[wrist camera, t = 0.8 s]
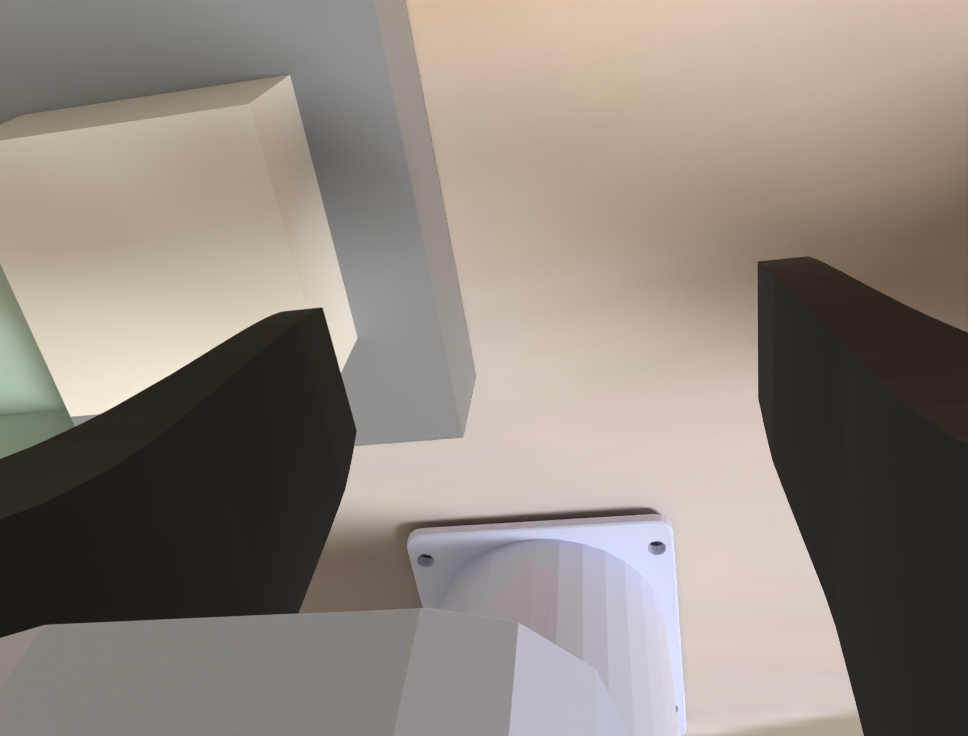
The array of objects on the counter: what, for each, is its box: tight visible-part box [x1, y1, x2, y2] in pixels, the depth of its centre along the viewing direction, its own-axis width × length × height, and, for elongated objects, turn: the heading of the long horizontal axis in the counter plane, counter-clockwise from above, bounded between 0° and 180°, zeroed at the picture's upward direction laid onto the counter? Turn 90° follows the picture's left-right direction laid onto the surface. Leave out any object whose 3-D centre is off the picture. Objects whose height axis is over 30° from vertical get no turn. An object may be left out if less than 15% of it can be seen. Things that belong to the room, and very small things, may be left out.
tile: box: [0, 75, 357, 417], centre depth 18 cm, size 6×6×2 cm
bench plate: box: [0, 0, 476, 446], centre depth 21 cm, size 12×10×3 cm
